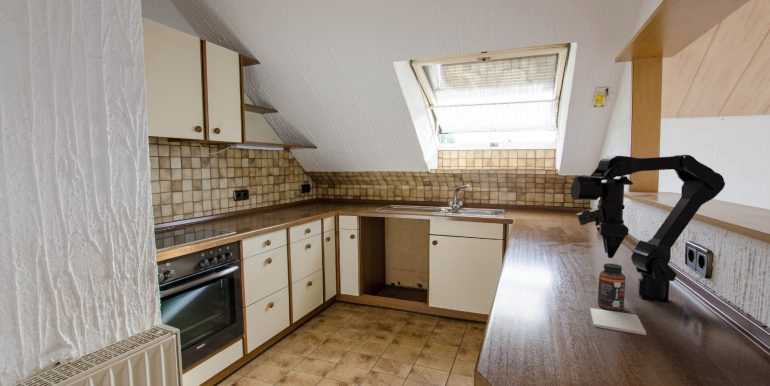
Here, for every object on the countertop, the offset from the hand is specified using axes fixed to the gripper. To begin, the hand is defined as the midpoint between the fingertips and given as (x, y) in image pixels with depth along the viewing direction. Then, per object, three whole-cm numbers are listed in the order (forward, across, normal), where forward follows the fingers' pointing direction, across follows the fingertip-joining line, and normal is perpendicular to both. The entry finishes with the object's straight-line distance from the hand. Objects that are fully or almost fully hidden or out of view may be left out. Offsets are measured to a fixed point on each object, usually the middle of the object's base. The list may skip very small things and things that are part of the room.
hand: (608, 255), depth 105 cm
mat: (+12, +20, 0) cm, 23 cm away
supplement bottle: (+12, +9, 0) cm, 15 cm away
